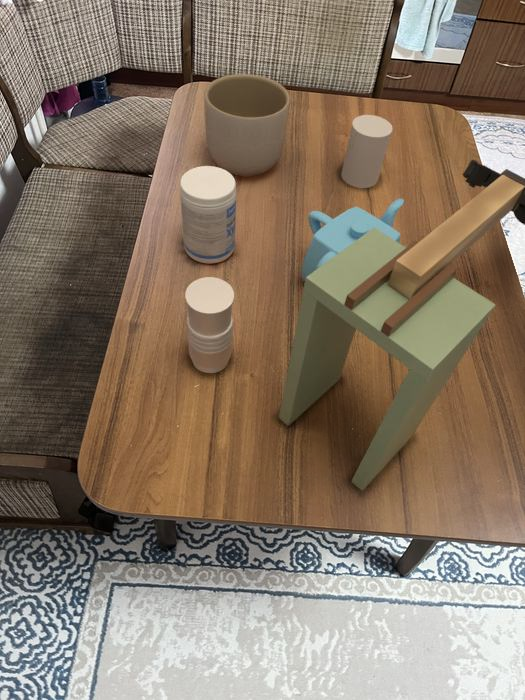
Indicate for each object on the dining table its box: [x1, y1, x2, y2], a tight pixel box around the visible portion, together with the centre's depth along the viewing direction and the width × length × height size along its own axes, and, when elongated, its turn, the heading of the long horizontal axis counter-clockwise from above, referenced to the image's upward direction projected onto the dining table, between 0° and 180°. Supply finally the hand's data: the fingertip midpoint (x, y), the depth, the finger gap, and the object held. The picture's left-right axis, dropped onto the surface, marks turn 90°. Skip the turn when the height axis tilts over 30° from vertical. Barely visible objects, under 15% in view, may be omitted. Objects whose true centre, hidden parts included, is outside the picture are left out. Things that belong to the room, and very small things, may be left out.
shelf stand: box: [278, 227, 496, 492], centre depth 67 cm, size 16×12×32 cm
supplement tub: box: [179, 165, 237, 264], centre depth 94 cm, size 10×10×15 cm
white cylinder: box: [340, 114, 393, 189], centre depth 112 cm, size 8×8×12 cm
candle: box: [184, 276, 235, 374], centre depth 79 cm, size 7×7×15 cm
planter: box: [203, 73, 291, 177], centre depth 111 cm, size 17×17×15 cm
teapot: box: [301, 198, 405, 282], centre depth 93 cm, size 18×16×14 cm
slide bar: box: [388, 168, 525, 299], centre depth 59 cm, size 3×23×4 cm, turn 136°
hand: (517, 197), depth 70 cm, fingers open, 13 cm apart
